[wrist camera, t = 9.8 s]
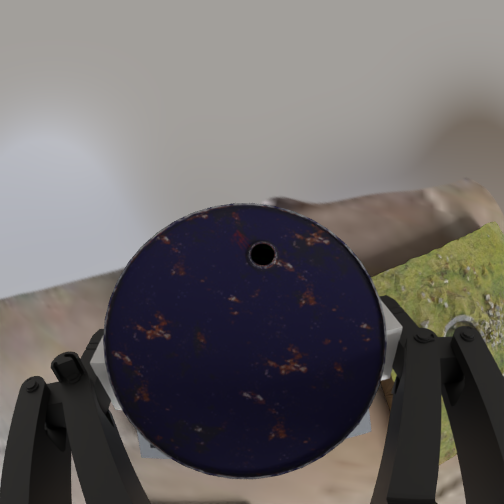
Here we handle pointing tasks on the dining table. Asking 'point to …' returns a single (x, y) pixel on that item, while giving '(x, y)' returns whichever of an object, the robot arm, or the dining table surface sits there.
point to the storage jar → (245, 341)
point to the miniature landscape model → (453, 298)
